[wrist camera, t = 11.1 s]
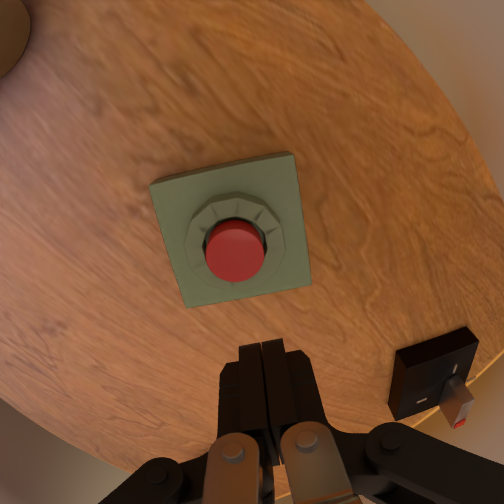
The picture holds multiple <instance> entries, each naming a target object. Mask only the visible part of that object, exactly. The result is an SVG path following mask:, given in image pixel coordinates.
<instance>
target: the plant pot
mask: <svg viewBox="0 0 504 504" xmlns="http://www.w3.org/2000/svg"><path fill="white" fill-rule="evenodd" d="M30 27H31V22H30V16H29V13H28V11H27V9H26V8H25V6H24V4H23V3H22V1H21V0H0V77H2V76H4V75H5V74H6V73H8V72H9V71H10V70H11V69H12V68H13V66H14V65H15V64H16V63H17V61H18V60H19V58H20V57H21V55H22V53H23V51H24V49H25V47H26V44H27V41H28V38H29V34H30Z"/></svg>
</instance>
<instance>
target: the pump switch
mask: <svg viewBox="0 0 504 504" xmlns="http://www.w3.org/2000/svg"><path fill="white" fill-rule="evenodd" d="M148 187H149V190H150V194H151V198H152V201H153V205H154V208H155V212H156V215H157V219H158V222H159V226H160V229H161V232H162V236H163V239H164V242H165V246H166V249H167V252H168V255H169V258H170V262H171V265H172V268H173V271H174V274H175V277H176V280H177V283H178V286H179V289H180V292H181V295H182V298H183V301H184V304H185V306H186V308H192V307H198V306H204V305H209V304H215V303H221V302H226V301H232V300H237V299H242V298H248V297H253V296H258V295H263V294H269V293H274V292H279V291H284V290H289V289H294V288H299V287H303V286H308V285H312V280H311V271H310V263H309V255H308V247H307V239H306V232H305V224H304V217H303V210H302V203H301V197H300V190H299V184H298V177H297V171H296V165H295V159H294V155H293V154H292V153H290V152H288V151H287V152H281V153H275V154H269V155H264V156H259V157H253V158H248V159H243V160H238V161H233V162H228V163H223V164H219V165H214V166H210V167H205V168H201V169H196V170H192V171H188V172H184V173H179V174H175V175H171V176H167V177H163V178H159V179H156V180H155V181H153V182H152V183H151V184H150V185H149V186H148ZM229 220H240V221H244V222H247V223H249V224H250V225H252V226H253V227H254V228H255V229H256V230H257V231H258V233H259V234H260V237H261V240H262V244H263V249H264V261H263V264H262V266H261V268H260V270H259V271H258V272H257V273H256V274H255V275H254V276H253V277H251V278H249V279H247V280H245V281H241V282H229V281H225V280H222V279H220V278H218V277H217V276H216V275H214V274H213V273H212V271H211V270H210V269H209V267H208V265H207V262H206V255H205V254H206V248H207V243H208V238H209V236H210V234H211V232H212V231H213V229H214V228H215V227H216V226H218V225H219V224H221V223H223V222H225V221H229Z"/></svg>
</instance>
